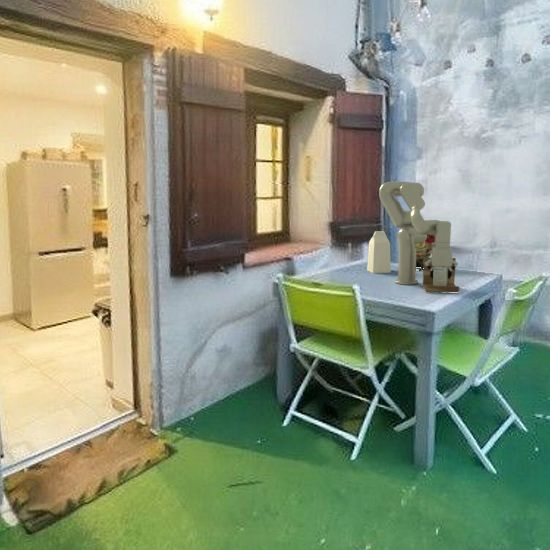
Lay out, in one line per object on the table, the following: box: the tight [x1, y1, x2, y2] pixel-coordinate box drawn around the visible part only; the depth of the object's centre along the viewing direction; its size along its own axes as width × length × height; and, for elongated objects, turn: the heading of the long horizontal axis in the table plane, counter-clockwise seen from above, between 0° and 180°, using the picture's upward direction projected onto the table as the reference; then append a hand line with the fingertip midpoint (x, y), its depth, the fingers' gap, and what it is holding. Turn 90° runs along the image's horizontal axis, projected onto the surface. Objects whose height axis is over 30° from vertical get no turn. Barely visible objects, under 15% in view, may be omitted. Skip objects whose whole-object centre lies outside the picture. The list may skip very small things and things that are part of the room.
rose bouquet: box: [414, 234, 435, 270], centre depth 309 cm, size 26×29×30 cm
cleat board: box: [422, 257, 460, 293], centre depth 245 cm, size 16×16×16 cm
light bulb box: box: [433, 267, 448, 286], centre depth 245 cm, size 11×7×11 cm, turn 157°
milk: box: [366, 230, 392, 274], centre depth 302 cm, size 12×12×26 cm
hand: (440, 278), depth 245 cm, fingers open, 7 cm apart
